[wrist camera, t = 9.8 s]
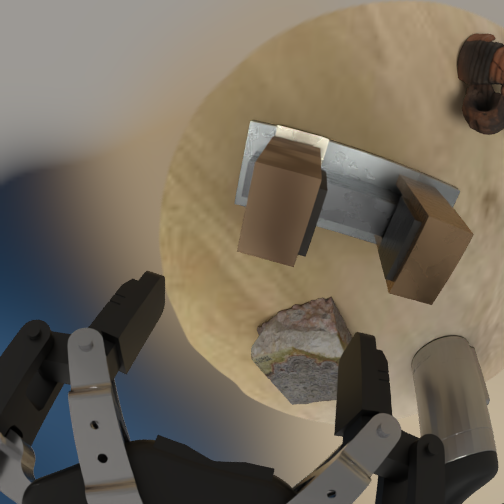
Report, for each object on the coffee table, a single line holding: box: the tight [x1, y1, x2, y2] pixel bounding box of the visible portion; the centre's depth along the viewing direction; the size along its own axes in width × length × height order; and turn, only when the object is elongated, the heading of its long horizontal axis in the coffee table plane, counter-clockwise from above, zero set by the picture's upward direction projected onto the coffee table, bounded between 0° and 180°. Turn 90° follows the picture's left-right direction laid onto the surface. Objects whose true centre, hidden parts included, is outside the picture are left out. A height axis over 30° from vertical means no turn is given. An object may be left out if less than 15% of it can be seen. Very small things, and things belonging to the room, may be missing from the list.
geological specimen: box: [251, 297, 352, 405], centre depth 36 cm, size 11×6×15 cm
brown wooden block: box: [237, 136, 328, 267], centre depth 23 cm, size 5×6×8 cm
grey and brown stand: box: [235, 120, 474, 305], centre depth 23 cm, size 20×8×9 cm, turn 79°
